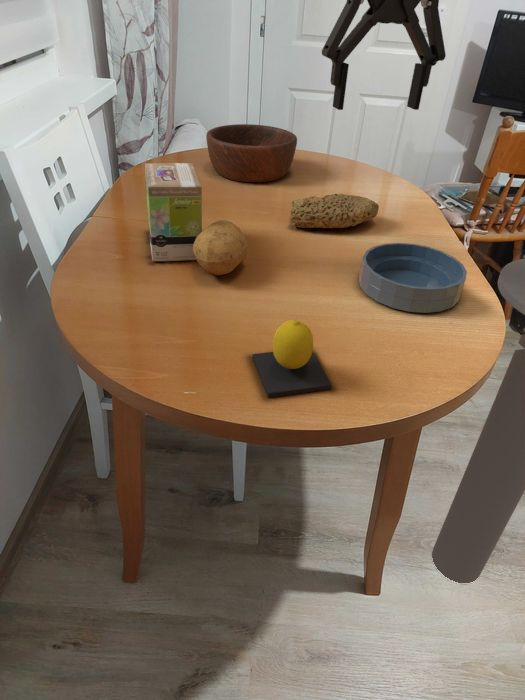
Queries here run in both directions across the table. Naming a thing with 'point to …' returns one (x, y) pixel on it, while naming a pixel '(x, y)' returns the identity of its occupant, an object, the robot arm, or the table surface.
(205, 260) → the potato
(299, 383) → the mat
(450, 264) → the basin
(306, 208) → the sponge
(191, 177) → the tea box
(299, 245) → the table surface
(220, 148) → the wooden bowl
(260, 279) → the table surface
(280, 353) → the lemon
